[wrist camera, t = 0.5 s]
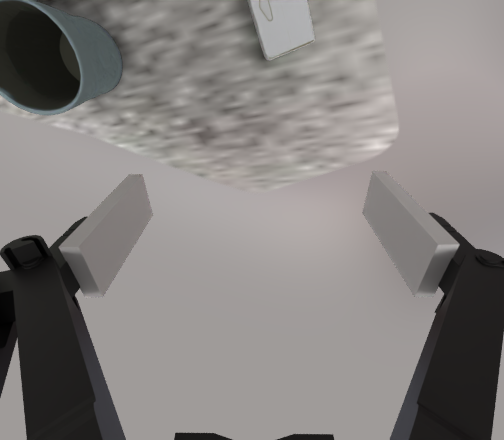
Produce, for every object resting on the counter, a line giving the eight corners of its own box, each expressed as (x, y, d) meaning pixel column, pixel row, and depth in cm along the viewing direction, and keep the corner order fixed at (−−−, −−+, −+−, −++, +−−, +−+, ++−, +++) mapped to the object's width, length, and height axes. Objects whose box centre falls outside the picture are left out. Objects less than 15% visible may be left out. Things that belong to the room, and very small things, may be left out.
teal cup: (41, 65, 36) (-42, 72, 26) (63, -14, 32) (-27, -42, 22) (113, 112, 40) (64, 135, 30) (142, 47, 35) (96, 47, 25)
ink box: (300, 44, 35) (318, 44, 25) (264, 60, 36) (267, 65, 26) (281, -43, 30) (292, -86, 20) (240, -22, 31) (232, -54, 21)
